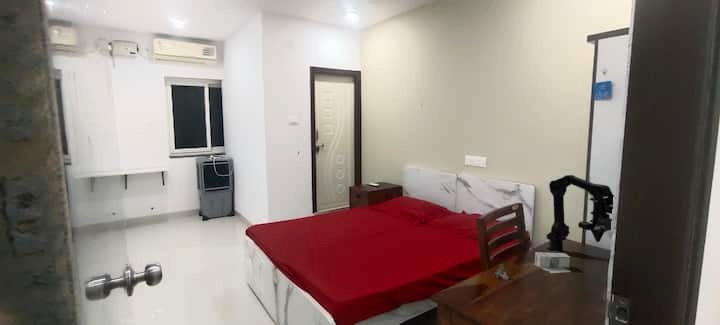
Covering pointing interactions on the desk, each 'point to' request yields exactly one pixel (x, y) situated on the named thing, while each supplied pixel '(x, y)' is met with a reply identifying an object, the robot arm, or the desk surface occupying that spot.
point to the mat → (555, 269)
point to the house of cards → (501, 272)
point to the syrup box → (552, 260)
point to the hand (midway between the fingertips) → (597, 241)
